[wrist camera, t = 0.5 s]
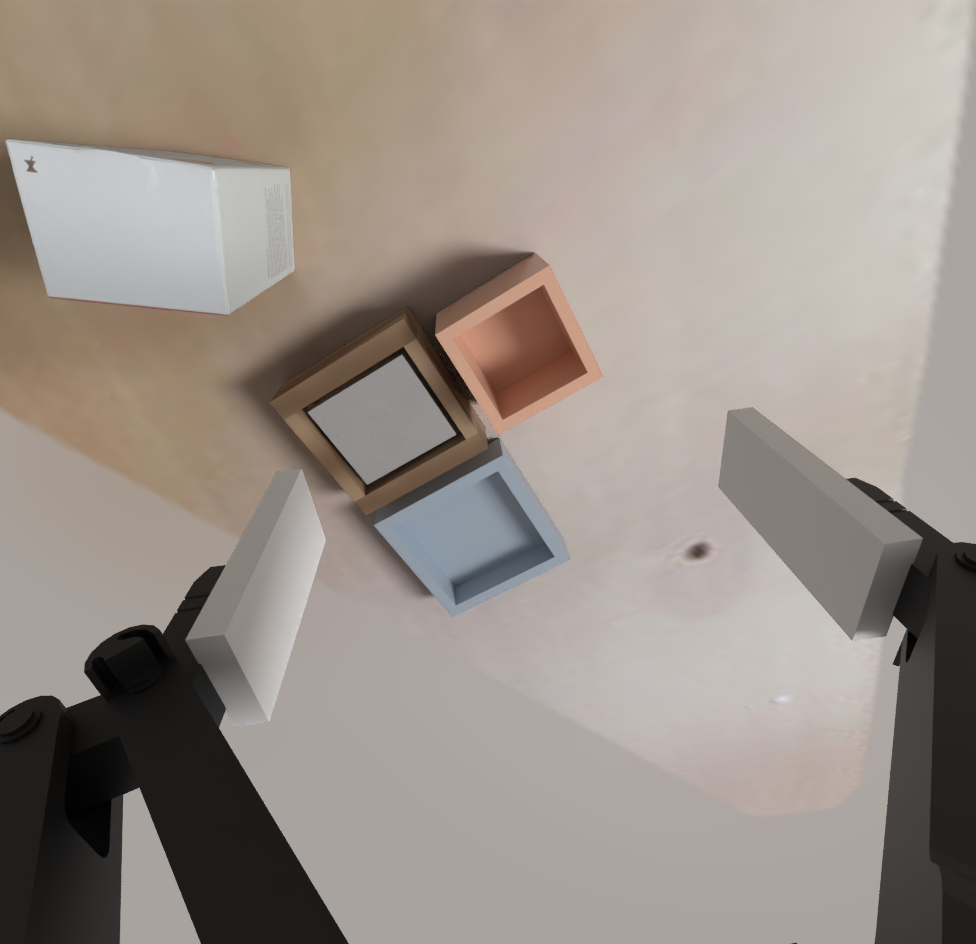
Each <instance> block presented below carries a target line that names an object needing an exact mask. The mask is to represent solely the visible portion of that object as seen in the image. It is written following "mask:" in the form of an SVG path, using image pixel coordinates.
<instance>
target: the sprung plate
mask: <svg viewBox="0 0 976 944" xmlns="http://www.w3.org/2000/svg"><path fill="white" fill-rule="evenodd" d="M308 414H309V415H310V416H311V417H312V418H313V420H314V421H315V422H316V423H317V424H318V426H319V427H320V428H321V429H322V431H323V432H324V433H325V434H326V435H327V437H328V438H329V439H330V440H331V441H332V443H333V444H334V445H335V446H336V447H337V449H338V450H339V451H340V452H341V454H342V455H343V456H344V457H345V458H346V460H347V461H348V462H349V463H350V464H351V466H352V467H353V468H354V469H355V470H356V472H357V473H358V474H359V475H360V477H361V478H362V479H363V480H364V481H365V483H366V484H367V485H368V484H370V483H371V482H373V481H375V480H377V479H378V478H380V477H382V476H384V475H386V474H387V473H389V472H391V471H393V470H394V469H396V468H398V467H400V466H402V465H403V464H405V463H407V462H409V461H410V460H412V459H414V458H416V457H418V456H419V455H421V454H423V453H425V452H426V451H428V450H430V449H432V448H434V447H435V446H437V445H439V444H441V443H442V442H444V441H446V440H448V439H450V438H451V437H453V436H455V435H457V432H456V427H455V425H454V424H453V422H452V421H451V419H450V418H449V416H448V415H447V413H446V412H445V410H444V409H443V407H442V406H441V404H440V403H439V401H438V400H437V398H436V397H435V396H434V394H433V393H432V391H431V390H430V388H429V387H428V385H427V384H426V382H425V381H424V379H423V378H422V376H421V375H420V373H419V372H418V370H417V369H416V367H415V366H414V364H413V363H412V361H411V360H410V359H409V357H408V356H407V354H406V353H405V351H404V350H402V351H400V352H399V353H397V354H395V355H394V356H392V357H390V358H389V359H387V360H385V361H384V362H382V363H381V364H379V365H377V366H376V367H374V368H372V369H371V370H369V371H367V372H366V373H364V374H363V375H361V376H359V377H358V378H356V379H354V380H353V381H351V382H349V383H348V384H346V385H345V386H343V387H341V388H340V389H338V390H336V391H335V392H333V393H332V394H330V395H328V396H327V397H325V398H323V399H322V400H320V401H318V402H317V403H315V404H314V405H312V406H311V407H310V409H309V411H308Z"/></svg>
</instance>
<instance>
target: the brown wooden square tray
mask: <svg viewBox="0 0 976 944" xmlns="http://www.w3.org/2000/svg"><path fill="white" fill-rule="evenodd" d="M402 350H404V351H405V353H406V354H407V356H408V357H409V359H410V360H411V361H412V363H413V364H414V366H415V367H416V369H417V370H418V372H419V373H420V375H421V376H422V378H423V379H424V381H425V382H426V384H427V385H428V387H429V388H430V390H431V391H432V393H433V394H434V396H435V397H436V398H437V400H438V401H439V403H440V404H441V406H442V407H443V409H444V410H445V412H446V413H447V415H448V416H449V418H450V419H451V421H452V422H453V424H454V425H455V427H456V432H457V435H455V436H453V437H451V438H450V439H448V440H446V441H444V442H442V443H441V444H439V445H437V446H435V447H434V448H432V449H430V450H428V451H426V452H425V453H423V454H421V455H419V456H418V457H416V458H414V459H412V460H410V461H409V462H407V463H405V464H403V465H402V466H400V467H398V468H396V469H394V470H393V471H391V472H389V473H387V474H386V475H384V476H382V477H380V478H378V479H377V480H375V481H373V482H371V483H370V484H368V485H367V484H366V483H365V481H364V480H363V479H362V478H361V477H360V475H359V474H358V473H357V472H356V470H355V469H354V468H353V467H352V466H351V464H350V463H349V462H348V461H347V460H346V458H345V457H344V456H343V455H342V454H341V452H340V451H339V450H338V449H337V447H336V446H335V445H334V444H333V443H332V441H331V440H330V439H329V438H328V437H327V435H326V434H325V433H324V432H323V431H322V429H321V428H320V427H319V426H318V424H317V423H316V422H315V421H314V420H313V418H312V417H311V416H310V415H309V414H308V411H309V409H310V407H311V406H312V405H314V404H315V403H317V402H318V401H320V400H322V399H323V398H325V397H327V396H328V395H330V394H332V393H333V392H335V391H336V390H338V389H340V388H341V387H343V386H345V385H346V384H348V383H349V382H351V381H353V380H354V379H356V378H358V377H359V376H361V375H363V374H364V373H366V372H367V371H369V370H371V369H372V368H374V367H376V366H377V365H379V364H381V363H382V362H384V361H385V360H387V359H389V358H390V357H392V356H394V355H395V354H397V353H399V352H400V351H402ZM269 403H270V404H271V406H272V407H273V408H274V409H275V410H276V411H277V413H278V414H279V415H280V416H281V417H282V418H283V420H284V421H285V422H286V423H287V424H288V425H289V427H290V428H291V429H292V430H293V431H294V432H295V434H296V435H297V436H298V437H299V438H300V439H301V441H302V442H303V443H304V444H305V445H306V446H307V448H308V449H309V450H310V451H311V452H312V453H313V454H314V456H315V457H316V458H317V459H318V460H319V461H320V463H321V464H322V465H323V466H324V467H325V468H326V470H327V471H328V472H329V473H330V474H331V475H332V477H333V478H334V479H335V480H336V481H337V482H338V484H339V485H340V486H341V487H342V488H343V489H344V491H345V492H346V493H347V494H348V495H349V496H350V498H351V499H352V500H353V501H354V502H355V503H356V505H357V506H358V507H359V508H360V509H361V510H362V512H363V513H364V514H365V515H366V516H367V515H368V514H370V513H372V512H374V511H376V510H378V509H379V508H381V507H383V506H385V505H387V504H388V503H390V502H392V501H394V500H396V499H398V498H399V497H401V496H403V495H405V494H407V493H408V492H410V491H412V490H414V489H416V488H418V487H419V486H421V485H423V484H425V483H427V482H429V481H430V480H432V479H434V478H436V477H438V476H439V475H441V474H443V473H445V472H447V471H449V470H450V469H452V468H454V467H456V466H458V465H459V464H461V463H463V462H465V461H467V460H469V459H470V458H472V457H474V456H476V455H478V454H480V453H481V452H483V451H485V450H487V449H488V444H487V437H486V431H485V426H484V424H483V423H482V421H481V420H480V418H479V417H478V415H477V414H476V412H475V410H474V409H473V407H472V406H471V404H470V403H469V401H468V400H467V398H466V396H465V395H464V393H463V392H462V390H461V389H460V387H459V386H458V384H457V382H456V381H455V379H454V378H453V376H452V375H451V373H450V372H449V370H448V369H447V367H446V365H445V364H444V362H443V361H442V359H441V358H440V356H439V355H438V353H437V351H436V350H435V348H434V347H433V345H432V344H431V342H430V341H429V339H428V337H427V336H426V334H425V333H424V331H423V330H422V328H421V327H420V325H419V323H418V322H417V320H416V319H415V317H414V316H413V314H412V313H411V311H410V309H409V308H408V306H406V307H405V308H403V309H401V310H400V311H398V312H397V313H395V314H393V315H392V316H390V317H389V318H387V319H385V320H384V321H382V322H381V323H379V324H378V325H376V326H374V327H373V328H371V329H370V330H368V331H366V332H365V333H363V334H362V335H360V336H358V337H357V338H355V339H354V340H352V341H351V342H349V343H347V344H346V345H344V346H343V347H341V348H339V349H338V350H336V351H335V352H333V353H331V354H330V355H328V356H327V357H325V358H324V359H322V360H320V361H319V362H317V363H316V364H314V365H312V366H311V367H309V368H308V369H306V370H304V371H303V372H301V373H300V374H298V375H297V376H295V377H293V378H292V379H290V380H289V381H287V382H285V383H284V384H283V386H282V387H281V388H280V390H279V391H278V392H277V393H276V395H275V396H274V397H273V399H272V400H271V401H270V402H269Z"/></svg>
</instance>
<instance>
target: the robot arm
mask: <svg viewBox="0 0 976 944" xmlns="http://www.w3.org/2000/svg"><path fill="white" fill-rule="evenodd" d="M718 487H719V488H720V489H721V490H722V491H723V493H724V494H725V495H726V496H727V497H728V498H729V500H730V501H731V502H732V503H733V504H734V505H735V506H736V508H737V509H738V510H739V511H740V512H741V513H742V514H743V516H744V517H745V518H746V519H747V520H748V521H749V523H750V524H751V525H752V526H753V527H754V528H755V529H756V531H757V532H758V533H759V534H760V535H761V536H762V537H763V539H764V540H765V541H766V542H767V543H768V544H769V546H770V547H771V548H772V549H773V550H774V551H775V552H776V554H777V555H778V556H779V557H780V558H781V559H782V560H783V562H784V563H785V564H786V565H787V566H788V567H789V569H790V570H791V571H792V572H793V573H794V574H795V575H796V577H797V578H798V579H799V580H800V581H801V582H802V583H803V585H804V586H805V587H806V588H807V589H808V590H809V592H810V593H811V594H812V595H813V596H814V597H815V598H816V600H817V601H818V602H819V603H820V604H821V605H822V606H823V608H824V609H825V610H826V611H827V612H828V613H829V615H830V616H831V617H832V618H833V619H834V620H835V621H836V623H837V624H838V625H839V626H840V627H841V628H842V629H843V631H844V632H845V633H846V634H847V635H848V636H849V638H850V639H851V640H852V641H855V640H862V639H869V638H876V637H883V636H886V635H887V632H888V630H889V627H890V624H891V622H892V619H893V616H895V617H896V618H897V619H898V620H899V621H900V622H901V623H902V624H903V625H904V626H905V627H906V628H907V630H906V633H905V635H904V638H903V640H902V642H901V645H900V647H899V650H898V652H897V655H896V657H895V660H894V662H893V665H896V666H899V665H900V672H899V683H898V693H897V705H896V716H895V728H894V738H893V750H892V761H891V772H890V783H889V794H888V805H887V816H886V827H885V838H884V850H883V860H882V872H881V883H880V894H879V905H878V917H877V928H876V937H875V944H976V544H971V543H964V542H959V543H953V542H951V541H950V540H949V539H947V538H946V537H944V536H943V535H942V534H940V533H939V532H938V531H936V530H935V529H933V528H932V527H931V526H929V525H928V524H927V523H925V522H924V521H923V520H921V519H920V518H918V517H917V516H916V515H914V514H913V513H912V512H910V511H907V510H906V508H905V507H903V506H902V505H901V504H899V503H898V502H897V501H895V502H894V501H893V498H891V497H890V496H888V495H887V494H886V493H884V492H883V491H882V490H880V489H879V488H877V487H875V486H873V485H871V484H868V483H866V482H864V481H861V480H859V479H857V478H850V479H845V478H844V477H843V476H841V475H840V474H839V473H837V472H836V471H835V470H833V469H832V468H831V467H830V466H828V465H827V464H826V463H824V462H823V461H822V460H820V459H819V458H818V457H817V456H815V455H814V454H813V453H811V452H810V451H809V450H807V449H806V448H805V447H804V446H802V445H801V444H800V443H798V442H797V441H796V440H794V439H793V438H792V437H791V436H789V435H788V434H787V433H785V432H784V431H783V430H781V429H780V428H779V427H777V426H776V425H775V424H774V423H772V422H771V421H770V420H768V419H767V418H766V417H764V416H763V415H762V414H761V413H759V412H758V411H757V410H755V409H754V408H753V407H752V408H744V409H737V410H729V411H728V414H727V422H726V430H725V438H724V446H723V454H722V462H721V469H720V477H719V485H718ZM325 541H326V539H325V536H324V533H323V530H322V527H321V524H320V521H319V518H318V515H317V512H316V509H315V506H314V503H313V500H312V497H311V494H310V491H309V488H308V485H307V482H306V479H305V476H304V473H303V470H302V468H300V469H293V470H285V471H278V472H276V474H275V476H274V478H273V479H272V481H271V483H270V485H269V487H268V489H267V490H266V492H265V494H264V496H263V498H262V500H261V501H260V503H259V505H258V507H257V509H256V511H255V513H254V514H253V516H252V518H251V520H250V522H249V524H248V525H247V527H246V529H245V531H244V533H243V535H242V536H241V538H240V540H239V542H238V544H237V546H236V548H235V549H234V551H233V553H232V555H231V557H230V559H229V560H228V562H227V564H226V565H224V566H216V567H210V568H209V569H208V570H207V571H206V572H204V573H203V574H202V575H201V576H200V577H199V578H198V579H197V580H196V581H195V582H194V583H193V585H192V586H191V588H190V590H189V591H188V593H187V595H186V596H185V600H184V601H182V603H181V605H180V606H179V608H178V610H177V611H178V613H175V615H174V617H173V618H172V620H171V621H170V623H169V625H168V626H167V628H166V630H165V631H164V633H163V634H162V633H161V631H160V630H159V629H158V628H156V627H155V626H154V625H139V626H134V627H129V628H127V629H125V630H123V631H121V632H118V633H116V634H114V635H112V636H111V637H109V638H108V639H106V640H105V641H103V642H102V643H101V644H100V645H99V646H98V647H97V648H96V649H95V650H94V651H92V653H91V654H90V655H89V657H88V659H87V660H86V662H85V670H84V673H85V674H86V675H87V677H88V678H89V679H90V681H91V682H92V683H93V685H94V686H95V688H96V689H97V690H98V691H99V693H100V694H101V695H100V696H97V697H95V698H92V699H89V700H87V701H84V702H81V703H79V704H76V705H73V706H71V707H68V708H65V706H64V705H63V704H62V703H61V701H60V700H59V699H57V698H55V697H53V696H39V697H35V698H32V699H29V700H26V701H24V702H22V703H20V704H18V705H16V706H14V707H12V708H11V709H9V710H8V711H6V712H5V713H4V714H2V715H1V716H0V944H119V943H120V906H121V863H122V862H121V861H122V819H123V794H125V793H128V792H130V791H132V790H135V789H137V788H139V787H140V790H141V792H142V795H143V798H144V800H145V802H146V805H147V807H148V810H149V813H150V815H151V818H152V820H153V823H154V825H155V828H156V830H157V833H158V836H159V838H160V841H161V843H162V846H163V848H164V851H165V853H166V856H167V858H168V861H169V864H170V866H171V869H172V871H173V874H174V876H175V879H176V881H177V884H178V886H179V889H180V891H181V894H182V897H183V899H184V902H185V904H186V907H187V909H188V912H189V914H190V917H191V919H192V922H193V924H194V927H195V929H196V932H197V935H198V937H199V940H200V942H201V944H348V942H347V940H346V938H345V937H344V935H343V934H342V932H341V930H340V929H339V927H338V925H337V924H336V922H335V920H334V919H333V917H332V915H331V914H330V912H329V910H328V909H327V907H326V905H325V904H324V902H323V900H322V899H321V897H320V895H319V894H318V892H317V890H316V889H315V887H314V885H313V884H312V882H311V881H310V879H309V877H308V875H307V874H306V872H305V871H304V869H303V867H302V866H301V864H300V862H299V861H298V859H297V857H296V855H295V854H294V852H293V850H292V849H291V847H290V845H289V844H288V842H287V841H286V839H285V837H284V836H283V834H282V832H281V831H280V829H279V827H278V826H277V824H276V822H275V821H274V819H273V817H272V816H271V814H270V813H269V811H268V809H267V807H266V806H265V804H264V802H263V801H262V799H261V797H260V796H259V794H258V792H257V791H256V789H255V787H254V786H253V784H252V783H251V781H250V779H249V778H248V776H247V774H246V773H245V771H244V769H243V768H242V766H241V764H240V763H239V761H238V759H237V758H236V756H235V754H234V753H233V751H232V749H231V748H230V746H229V744H228V743H227V741H226V740H225V738H224V736H223V734H222V733H221V731H220V729H219V726H220V723H221V720H222V718H223V715H224V713H225V711H226V713H227V714H228V716H229V718H230V720H231V721H232V723H233V725H234V726H235V727H239V726H247V725H253V724H261V723H267V722H269V721H270V718H271V715H272V712H273V708H274V705H275V702H276V699H277V696H278V692H279V689H280V686H281V682H282V680H283V676H284V673H285V670H286V667H287V664H288V660H289V657H290V654H291V651H292V647H293V644H294V641H295V638H296V634H297V631H298V628H299V625H300V622H301V618H302V615H303V612H304V609H305V606H306V602H307V599H308V596H309V593H310V590H311V586H312V583H313V580H314V577H315V574H316V570H317V567H318V564H319V561H320V557H321V554H322V551H323V548H324V545H325ZM793 944H797V943H793Z"/></svg>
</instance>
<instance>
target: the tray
mask: <svg viewBox="0 0 976 944" xmlns="http://www.w3.org/2000/svg"><path fill="white" fill-rule="evenodd" d="M374 526H375V528H376V529H377V530H378V531H379V532H380V533H381V535H382V536H383V537H384V538H385V539H386V540H387V542H388V543H389V544H390V545H391V546H392V547H393V549H394V550H395V551H396V552H397V553H398V554H399V555H400V557H401V558H402V559H403V560H404V561H405V562H406V564H407V565H408V566H409V567H410V568H411V569H412V571H413V572H414V573H415V574H416V575H417V576H418V578H419V579H420V580H421V581H422V582H423V583H424V585H425V586H426V587H427V588H428V589H429V590H430V592H431V593H432V594H433V595H434V596H435V597H436V599H437V600H438V601H439V602H440V603H441V604H442V606H443V607H444V608H445V609H446V610H447V611H448V613H449V614H450V615H451V616H452V617H453V616H455V615H457V614H459V613H461V612H463V611H466V610H468V609H470V608H472V607H474V606H476V605H478V604H480V603H482V602H484V601H486V600H488V599H490V598H492V597H494V596H496V595H498V594H500V593H503V592H505V591H507V590H509V589H511V588H513V587H515V586H517V585H519V584H521V583H523V582H525V581H527V580H529V579H531V578H533V577H535V576H537V575H540V574H542V573H544V572H546V571H548V570H550V569H552V568H554V567H556V566H558V565H560V564H562V563H564V562H566V561H568V560H570V558H569V555H568V551H567V548H566V545H565V542H564V539H563V537H562V536H561V534H560V532H559V531H558V529H557V528H556V526H555V525H554V523H553V521H552V520H551V518H550V517H549V515H548V514H547V512H546V510H545V509H544V507H543V506H542V504H541V503H540V501H539V499H538V498H537V496H536V495H535V493H534V492H533V490H532V488H531V487H530V485H529V484H528V482H527V481H526V479H525V477H524V476H523V474H522V473H521V471H520V470H519V468H518V466H517V465H516V463H515V462H514V460H513V459H512V457H511V455H510V454H509V452H508V451H507V449H506V448H505V446H504V444H503V443H502V441H501V440H500V438H498V439H496V440H494V441H493V442H491V443H489V444H488V449H487V450H485V451H483V452H481V453H480V454H478V455H476V456H474V457H472V458H470V459H469V460H467V461H465V462H463V463H461V464H459V465H458V466H456V467H454V468H452V469H450V470H449V471H447V472H445V473H443V474H441V475H439V476H438V477H436V478H434V479H432V480H430V481H429V482H427V483H425V484H423V485H421V486H419V487H418V488H416V489H414V490H412V491H410V492H408V493H407V494H405V495H403V496H401V497H399V498H398V499H396V500H394V501H392V502H390V503H388V504H387V505H385V506H383V507H381V508H379V509H378V510H377V512H376V516H375V521H374Z"/></svg>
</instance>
